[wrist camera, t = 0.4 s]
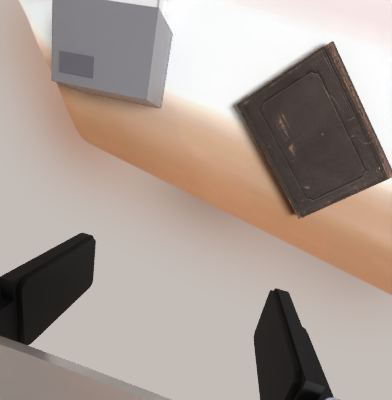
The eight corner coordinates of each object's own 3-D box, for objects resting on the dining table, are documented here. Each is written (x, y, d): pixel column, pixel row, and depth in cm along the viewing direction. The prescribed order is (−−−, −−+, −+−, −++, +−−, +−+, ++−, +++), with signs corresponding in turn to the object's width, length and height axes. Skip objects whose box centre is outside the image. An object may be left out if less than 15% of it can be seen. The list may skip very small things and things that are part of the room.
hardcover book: (295, 215, 38) (299, 219, 36) (237, 107, 36) (237, 104, 34) (386, 173, 34) (397, 175, 32) (328, 46, 31) (335, 38, 29)
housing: (84, 19, 36) (51, -9, 30) (172, 33, 34) (158, 6, 28) (80, 91, 40) (50, 79, 33) (161, 108, 38) (146, 99, 31)
